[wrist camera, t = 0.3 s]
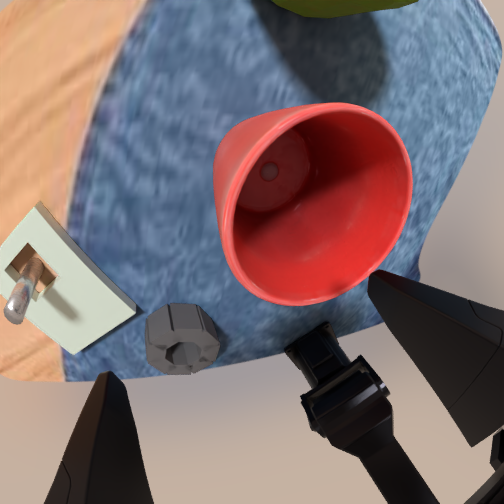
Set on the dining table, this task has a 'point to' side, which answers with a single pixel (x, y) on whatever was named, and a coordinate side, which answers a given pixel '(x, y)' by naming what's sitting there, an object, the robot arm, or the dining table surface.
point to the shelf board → (64, 285)
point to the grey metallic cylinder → (23, 291)
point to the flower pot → (310, 200)
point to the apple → (338, 6)
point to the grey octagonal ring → (180, 339)
